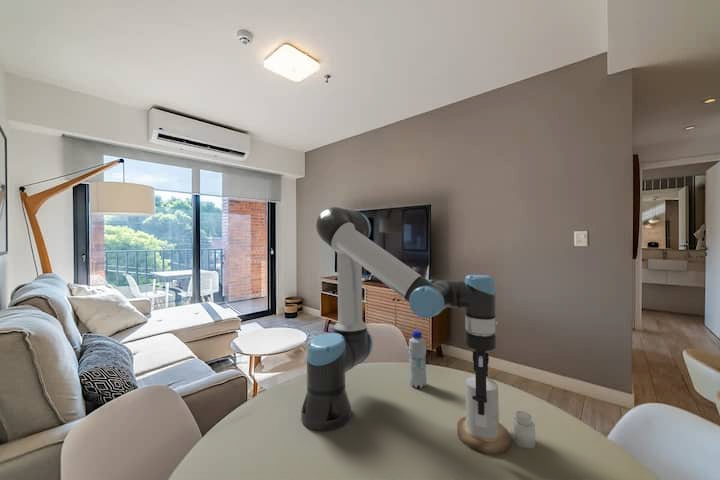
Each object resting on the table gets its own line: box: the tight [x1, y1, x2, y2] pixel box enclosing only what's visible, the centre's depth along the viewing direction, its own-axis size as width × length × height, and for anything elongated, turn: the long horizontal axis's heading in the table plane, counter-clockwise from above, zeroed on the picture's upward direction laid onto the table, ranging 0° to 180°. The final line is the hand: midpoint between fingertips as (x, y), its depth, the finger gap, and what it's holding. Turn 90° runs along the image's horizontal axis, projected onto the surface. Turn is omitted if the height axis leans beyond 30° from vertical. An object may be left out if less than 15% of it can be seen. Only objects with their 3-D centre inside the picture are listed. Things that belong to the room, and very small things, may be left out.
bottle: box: [407, 330, 427, 389], centre depth 107 cm, size 7×7×20 cm
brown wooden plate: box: [456, 416, 511, 455], centre depth 77 cm, size 13×13×2 cm
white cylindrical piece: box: [464, 376, 500, 439], centre depth 77 cm, size 8×8×12 cm
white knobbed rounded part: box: [512, 410, 536, 450], centre depth 75 cm, size 5×5×7 cm
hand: (480, 411), depth 77 cm, fingers open, 13 cm apart
